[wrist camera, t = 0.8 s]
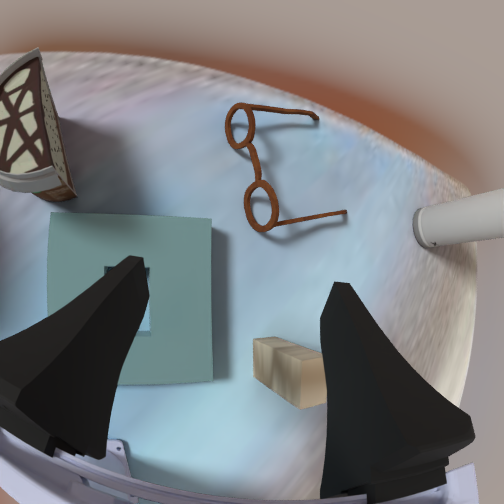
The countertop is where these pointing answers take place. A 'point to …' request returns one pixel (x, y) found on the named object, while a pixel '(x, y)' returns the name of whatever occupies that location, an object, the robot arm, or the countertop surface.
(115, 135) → the countertop surface
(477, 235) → the travel mug
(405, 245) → the countertop surface
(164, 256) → the holder plate
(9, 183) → the food container
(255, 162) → the glasses
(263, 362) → the wood stick
